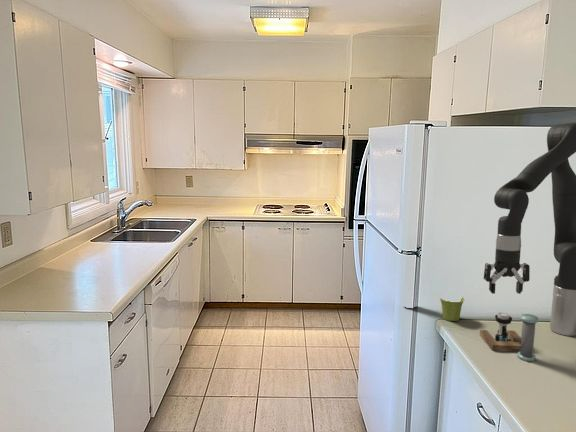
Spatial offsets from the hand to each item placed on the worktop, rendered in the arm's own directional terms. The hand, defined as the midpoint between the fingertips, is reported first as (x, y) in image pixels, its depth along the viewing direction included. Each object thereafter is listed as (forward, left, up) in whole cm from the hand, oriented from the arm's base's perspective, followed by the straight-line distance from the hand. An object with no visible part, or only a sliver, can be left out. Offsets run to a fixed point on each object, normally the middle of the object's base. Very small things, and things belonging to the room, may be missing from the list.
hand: (505, 292), depth 150 cm
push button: (0, 0, -18) cm, 18 cm away
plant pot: (+12, -20, -18) cm, 29 cm away
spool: (-3, +12, -18) cm, 22 cm away
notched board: (0, +1, -18) cm, 18 cm away
